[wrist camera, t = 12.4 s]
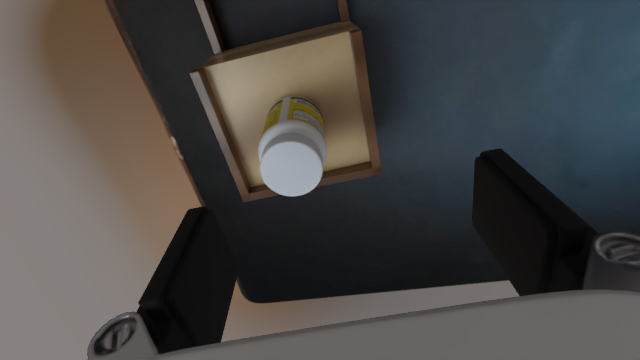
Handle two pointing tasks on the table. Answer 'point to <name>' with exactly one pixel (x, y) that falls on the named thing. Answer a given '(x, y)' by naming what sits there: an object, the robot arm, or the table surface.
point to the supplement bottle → (292, 147)
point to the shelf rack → (290, 80)
